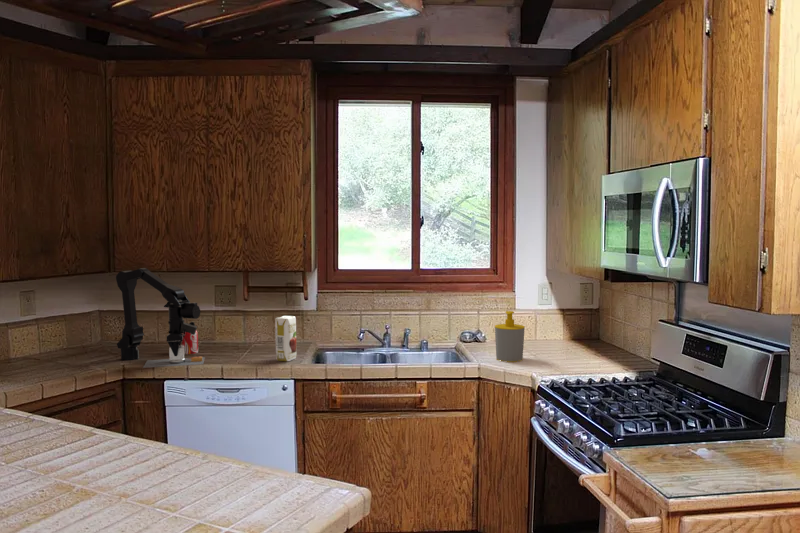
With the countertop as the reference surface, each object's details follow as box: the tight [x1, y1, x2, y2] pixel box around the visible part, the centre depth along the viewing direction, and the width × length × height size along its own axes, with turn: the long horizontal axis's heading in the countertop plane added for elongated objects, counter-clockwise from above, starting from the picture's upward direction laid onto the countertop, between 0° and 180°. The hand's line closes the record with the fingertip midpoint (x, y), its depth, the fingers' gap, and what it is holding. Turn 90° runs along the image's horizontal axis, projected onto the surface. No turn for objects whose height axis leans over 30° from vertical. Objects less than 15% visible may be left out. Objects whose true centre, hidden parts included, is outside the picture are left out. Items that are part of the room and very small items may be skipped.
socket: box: [168, 344, 185, 360], centre depth 271 cm, size 6×6×5 cm
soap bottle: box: [494, 310, 526, 363], centre depth 277 cm, size 13×13×21 cm
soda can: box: [181, 329, 199, 355], centre depth 291 cm, size 7×7×12 cm
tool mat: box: [142, 356, 206, 369], centre depth 271 cm, size 24×14×1 cm, turn 104°
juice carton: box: [274, 315, 297, 362], centre depth 279 cm, size 8×9×19 cm
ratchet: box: [168, 356, 203, 364], centre depth 272 cm, size 13×6×5 cm, turn 104°
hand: (177, 353), depth 271 cm, fingers open, 9 cm apart
